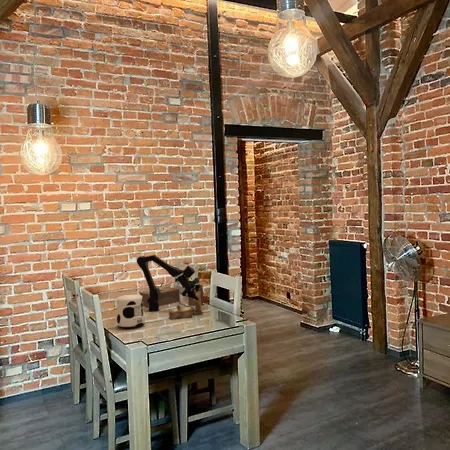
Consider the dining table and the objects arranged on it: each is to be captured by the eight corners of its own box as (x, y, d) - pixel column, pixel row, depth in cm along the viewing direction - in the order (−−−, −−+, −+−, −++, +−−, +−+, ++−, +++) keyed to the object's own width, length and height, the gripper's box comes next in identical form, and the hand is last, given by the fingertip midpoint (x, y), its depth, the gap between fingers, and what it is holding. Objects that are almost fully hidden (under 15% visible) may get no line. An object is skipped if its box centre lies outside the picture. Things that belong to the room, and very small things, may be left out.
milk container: (120, 322, 282) (119, 294, 282) (148, 321, 282) (146, 293, 281) (113, 330, 265) (111, 300, 264) (142, 329, 265) (140, 299, 264)
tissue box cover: (168, 299, 348) (168, 286, 347) (179, 302, 337) (179, 289, 336) (140, 305, 330) (139, 292, 330) (150, 308, 320) (150, 294, 319)
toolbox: (170, 319, 285) (170, 313, 284) (168, 316, 294) (168, 309, 294) (204, 316, 290) (203, 309, 290) (201, 312, 300) (200, 306, 299)
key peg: (196, 312, 301) (195, 292, 300) (195, 311, 305) (194, 291, 304) (201, 312, 302) (200, 291, 301) (200, 310, 306) (199, 290, 305)
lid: (170, 312, 284) (170, 307, 284) (168, 310, 292) (168, 305, 292) (196, 310, 289) (195, 305, 288) (193, 307, 296) (193, 302, 296)
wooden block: (203, 305, 323) (202, 280, 322) (189, 306, 320) (187, 281, 319) (202, 303, 326) (201, 279, 325) (188, 305, 324) (187, 280, 323)
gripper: (184, 276, 295) (200, 294, 291) (198, 272, 312) (213, 288, 308) (175, 288, 299) (190, 305, 295) (189, 283, 316) (203, 299, 312)
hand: (199, 299), depth 302 cm, fingers open, 4 cm apart
